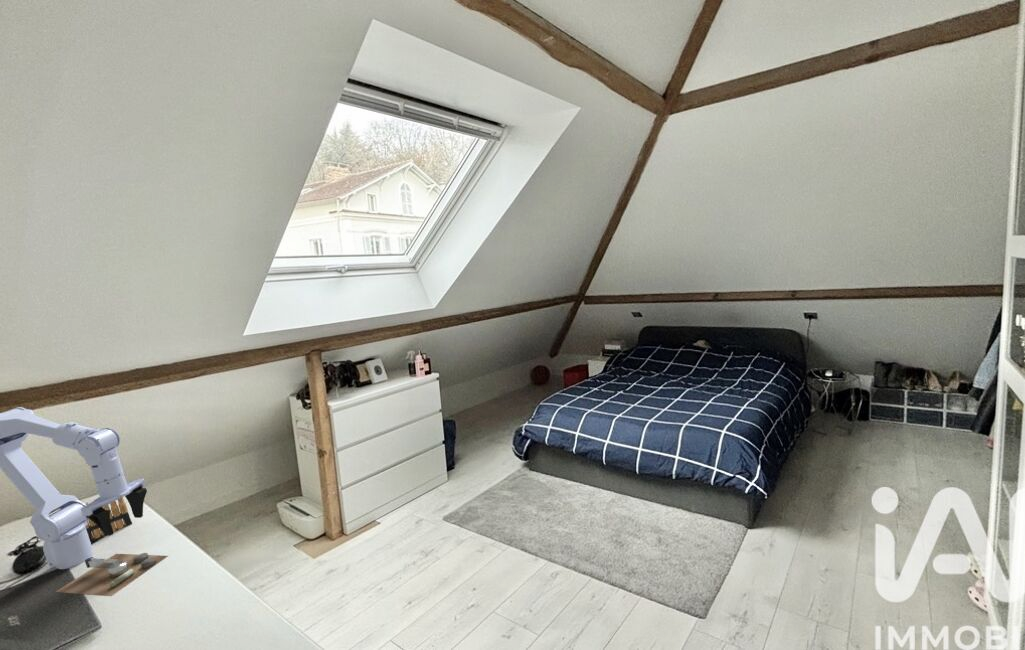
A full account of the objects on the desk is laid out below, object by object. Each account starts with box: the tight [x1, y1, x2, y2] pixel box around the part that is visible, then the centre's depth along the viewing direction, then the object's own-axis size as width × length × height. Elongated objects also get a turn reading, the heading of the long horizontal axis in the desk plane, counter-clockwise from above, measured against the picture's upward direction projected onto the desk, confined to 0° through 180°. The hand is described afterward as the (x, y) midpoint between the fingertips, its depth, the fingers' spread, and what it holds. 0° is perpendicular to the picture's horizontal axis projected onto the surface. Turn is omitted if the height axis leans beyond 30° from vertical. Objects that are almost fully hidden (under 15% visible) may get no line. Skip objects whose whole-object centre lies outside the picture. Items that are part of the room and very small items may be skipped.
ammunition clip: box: [85, 497, 133, 546], centre depth 139 cm, size 11×2×12 cm, turn 137°
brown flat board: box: [55, 552, 169, 597], centre depth 119 cm, size 18×14×3 cm
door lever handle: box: [84, 556, 129, 578], centre depth 119 cm, size 12×4×3 cm, turn 76°
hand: (124, 525), depth 125 cm, fingers open, 7 cm apart
